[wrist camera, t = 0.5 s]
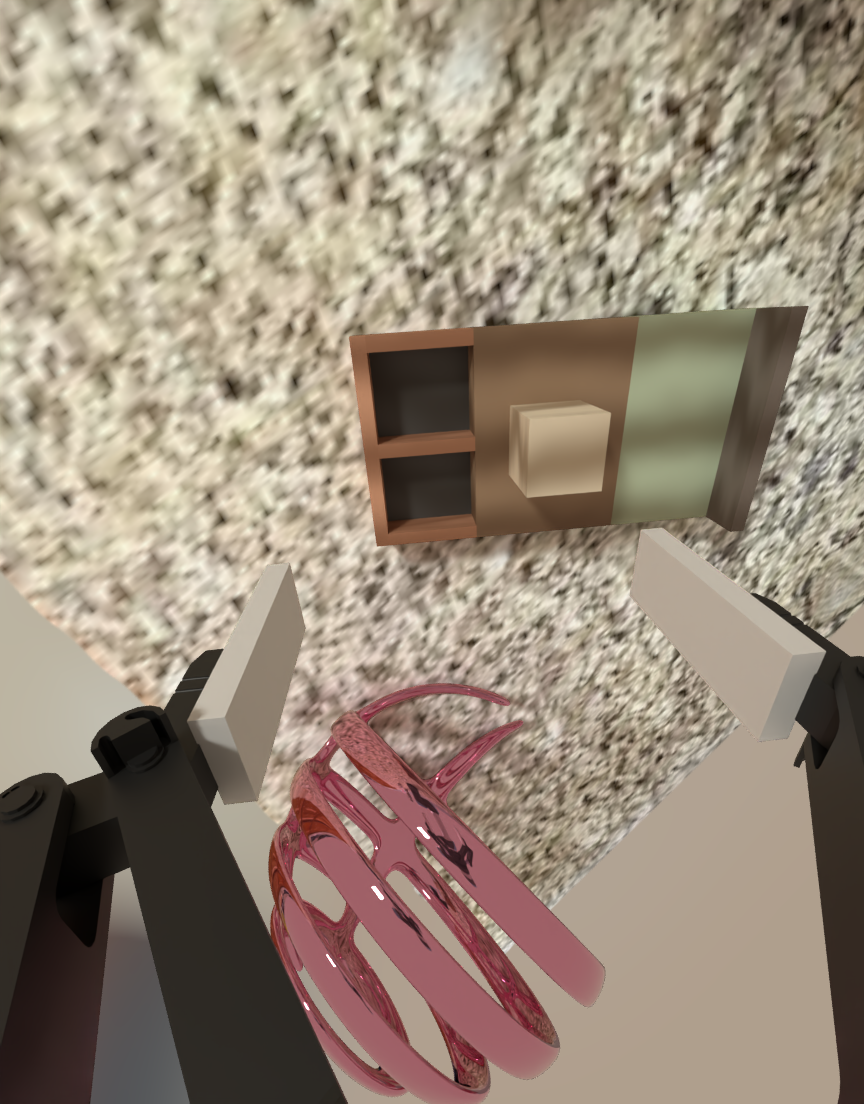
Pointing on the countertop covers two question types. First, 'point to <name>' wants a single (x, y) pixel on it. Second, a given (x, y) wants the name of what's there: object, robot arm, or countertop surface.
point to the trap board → (567, 375)
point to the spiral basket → (416, 919)
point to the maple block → (558, 447)
